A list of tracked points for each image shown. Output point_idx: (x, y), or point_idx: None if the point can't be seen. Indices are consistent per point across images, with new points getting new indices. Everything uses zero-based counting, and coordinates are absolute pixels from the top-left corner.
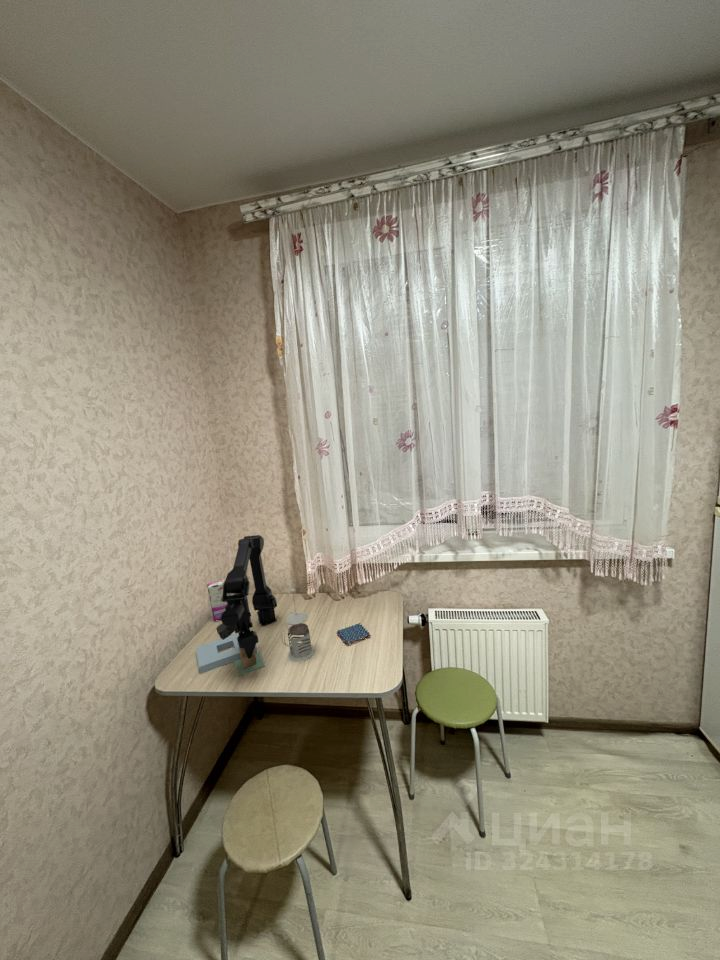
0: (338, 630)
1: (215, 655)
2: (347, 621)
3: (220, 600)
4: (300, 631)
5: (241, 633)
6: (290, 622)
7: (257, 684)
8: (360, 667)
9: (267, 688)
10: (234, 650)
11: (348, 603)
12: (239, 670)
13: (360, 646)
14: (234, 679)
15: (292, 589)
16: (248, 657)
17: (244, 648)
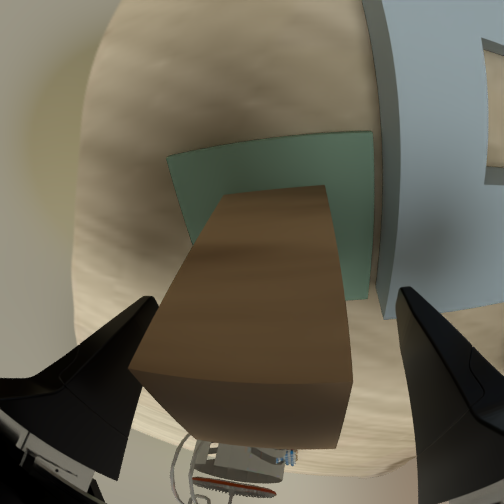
0: (291, 453)
1: (469, 11)
2: (331, 455)
3: None
4: (212, 484)
5: (446, 412)
6: None
7: (90, 249)
8: (146, 421)
9: (72, 278)
10: (459, 171)
11: (399, 455)
12: (216, 165)
13: (216, 444)
14: (146, 130)
15: None
16: (136, 306)
17: (34, 379)
